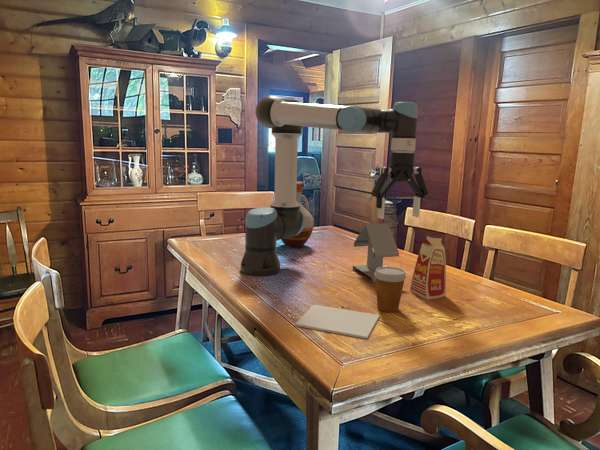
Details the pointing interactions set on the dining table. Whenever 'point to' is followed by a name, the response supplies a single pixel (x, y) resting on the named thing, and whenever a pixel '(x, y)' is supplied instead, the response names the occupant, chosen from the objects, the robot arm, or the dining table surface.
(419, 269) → the milk carton
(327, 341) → the dining table surface
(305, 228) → the jug
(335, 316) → the grey mat
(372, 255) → the folded metal stand
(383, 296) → the disposable coffee cup
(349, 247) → the dining table surface
